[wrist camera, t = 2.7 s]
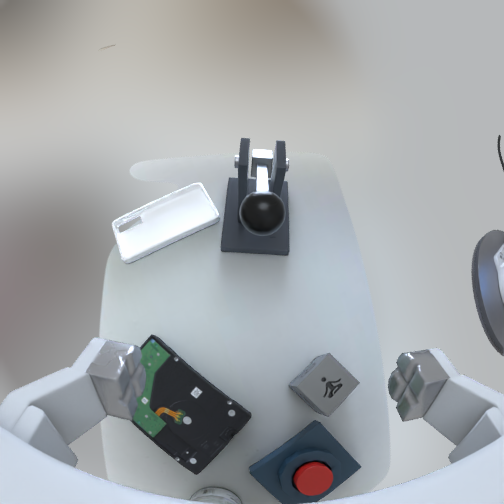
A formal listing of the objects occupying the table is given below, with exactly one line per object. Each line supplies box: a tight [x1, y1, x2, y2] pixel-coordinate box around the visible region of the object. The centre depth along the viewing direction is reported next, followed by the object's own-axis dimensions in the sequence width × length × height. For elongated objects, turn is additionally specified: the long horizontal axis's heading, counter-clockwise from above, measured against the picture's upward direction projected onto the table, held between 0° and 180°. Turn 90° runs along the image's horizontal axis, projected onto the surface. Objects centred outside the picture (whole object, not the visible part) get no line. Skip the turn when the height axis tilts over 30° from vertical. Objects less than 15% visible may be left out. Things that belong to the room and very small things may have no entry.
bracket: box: [221, 138, 289, 255], centre depth 34 cm, size 12×9×13 cm
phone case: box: [112, 183, 220, 263], centre depth 38 cm, size 7×1×15 cm
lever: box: [239, 149, 286, 236], centre depth 26 cm, size 14×4×4 cm, turn 178°
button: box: [294, 462, 333, 496], centre depth 21 cm, size 4×4×2 cm
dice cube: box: [289, 353, 360, 417], centre depth 28 cm, size 5×5×5 cm
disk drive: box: [130, 335, 252, 475], centre depth 27 cm, size 10×3×15 cm
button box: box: [249, 420, 361, 504], centre depth 23 cm, size 10×9×4 cm
